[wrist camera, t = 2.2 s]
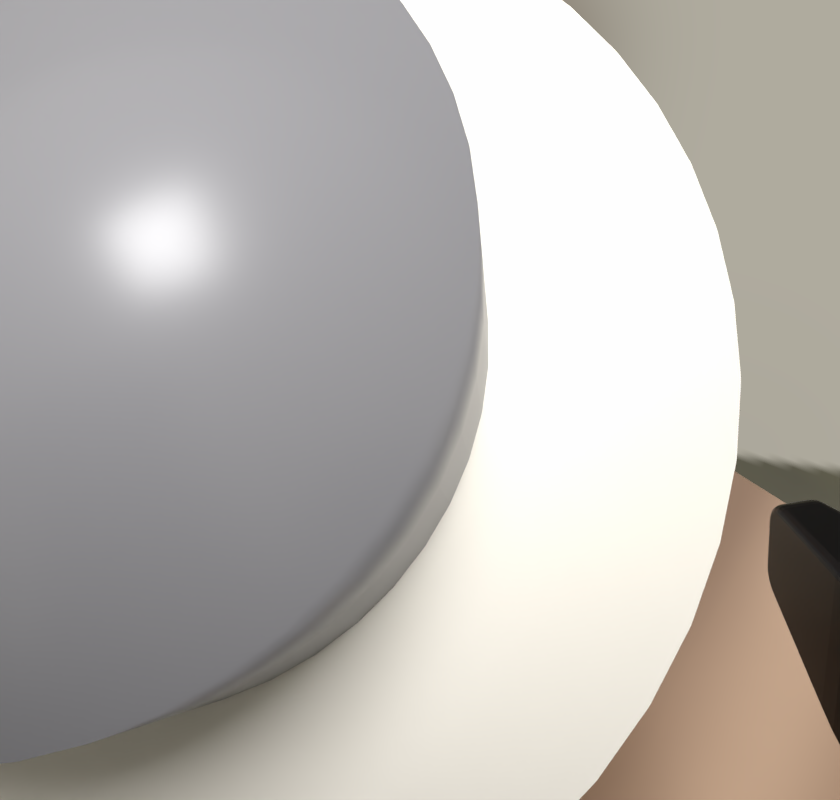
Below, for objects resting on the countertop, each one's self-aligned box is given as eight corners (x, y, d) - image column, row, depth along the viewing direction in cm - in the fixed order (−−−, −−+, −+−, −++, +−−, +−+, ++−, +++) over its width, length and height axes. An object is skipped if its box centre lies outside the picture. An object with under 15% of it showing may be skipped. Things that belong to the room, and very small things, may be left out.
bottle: (486, 747, 15) (282, 1869, 2) (236, 603, 17) (-1001, 600, 3) (613, 475, 16) (1099, -151, 3) (369, 359, 18) (-109, -450, 4)
